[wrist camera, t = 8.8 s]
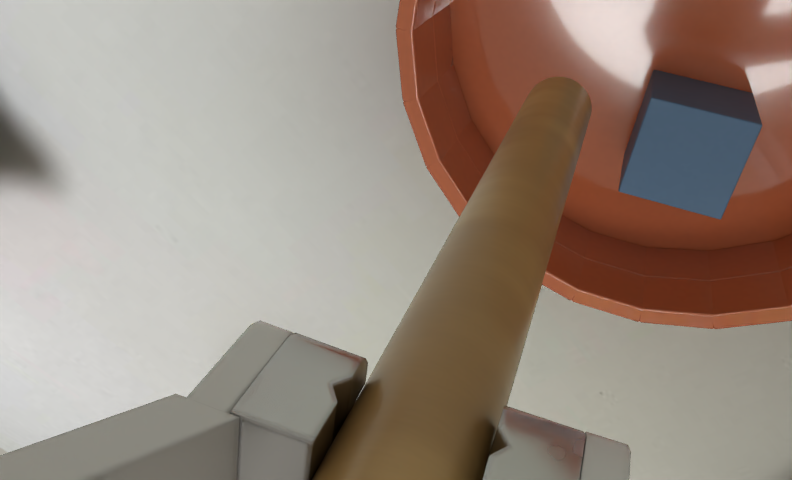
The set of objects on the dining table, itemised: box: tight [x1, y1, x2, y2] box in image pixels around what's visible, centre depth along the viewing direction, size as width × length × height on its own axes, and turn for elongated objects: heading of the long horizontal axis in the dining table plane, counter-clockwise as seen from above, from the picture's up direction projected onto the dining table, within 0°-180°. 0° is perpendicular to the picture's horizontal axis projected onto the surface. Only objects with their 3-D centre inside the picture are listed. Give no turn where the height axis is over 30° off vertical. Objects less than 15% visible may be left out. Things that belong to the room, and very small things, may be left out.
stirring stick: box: [312, 77, 592, 480], centre depth 13 cm, size 2×2×18 cm
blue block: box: [618, 70, 762, 219], centre depth 29 cm, size 4×4×4 cm
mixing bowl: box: [396, 0, 792, 329], centre depth 27 cm, size 21×21×6 cm
